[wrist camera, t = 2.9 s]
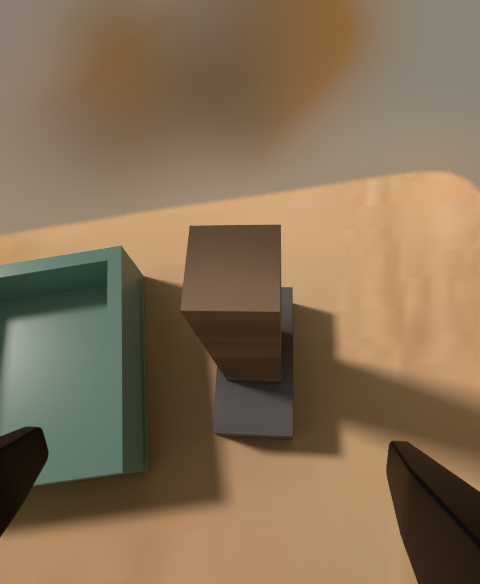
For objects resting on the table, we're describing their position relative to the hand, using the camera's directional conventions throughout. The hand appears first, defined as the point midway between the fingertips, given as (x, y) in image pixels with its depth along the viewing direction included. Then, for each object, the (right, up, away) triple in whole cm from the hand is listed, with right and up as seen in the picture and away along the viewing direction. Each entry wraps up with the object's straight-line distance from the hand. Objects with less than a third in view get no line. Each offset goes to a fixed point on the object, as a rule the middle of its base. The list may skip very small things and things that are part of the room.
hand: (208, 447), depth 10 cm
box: (-11, -1, +14) cm, 18 cm away
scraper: (+2, 0, +13) cm, 13 cm away
